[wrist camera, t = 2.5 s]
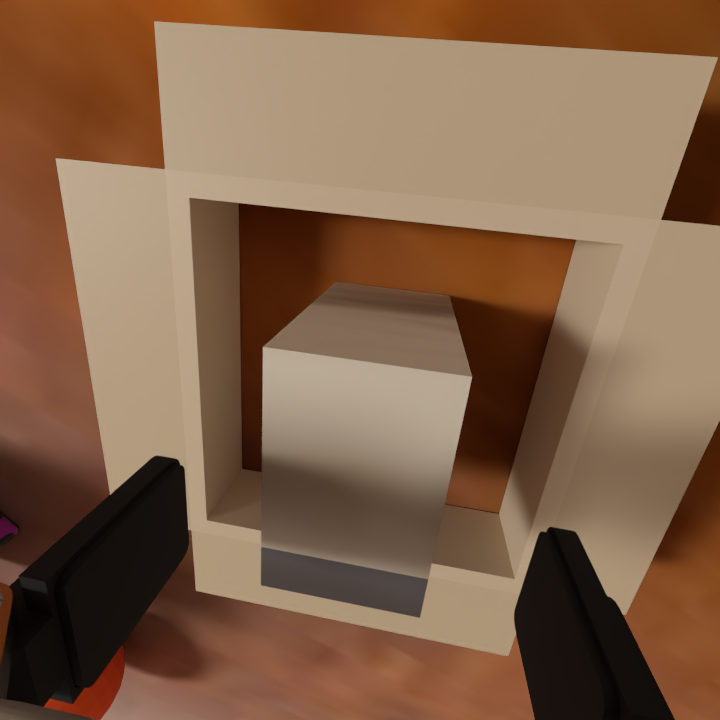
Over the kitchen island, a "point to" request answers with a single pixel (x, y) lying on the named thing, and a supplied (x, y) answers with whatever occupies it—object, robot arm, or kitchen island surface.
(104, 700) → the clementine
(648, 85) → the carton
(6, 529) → the candy bar box
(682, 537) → the kitchen island surface
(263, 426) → the birch box
